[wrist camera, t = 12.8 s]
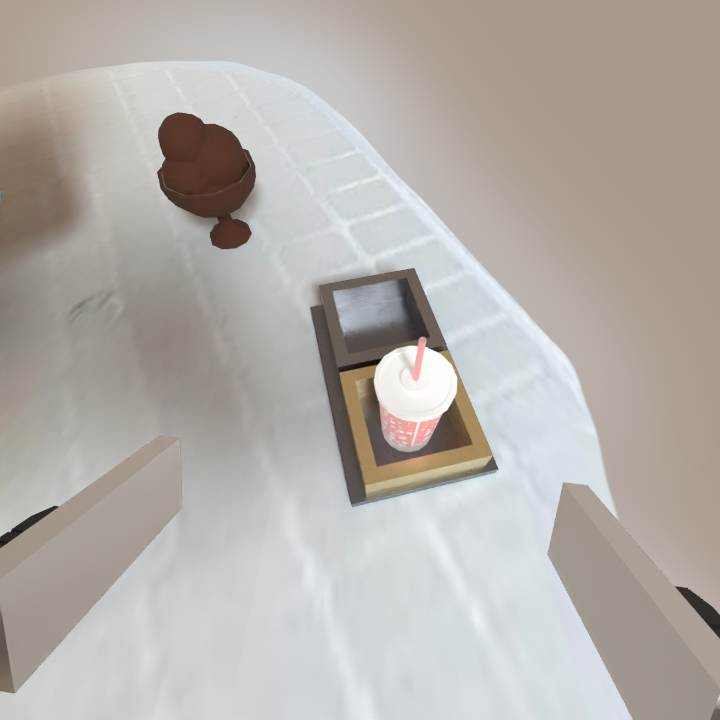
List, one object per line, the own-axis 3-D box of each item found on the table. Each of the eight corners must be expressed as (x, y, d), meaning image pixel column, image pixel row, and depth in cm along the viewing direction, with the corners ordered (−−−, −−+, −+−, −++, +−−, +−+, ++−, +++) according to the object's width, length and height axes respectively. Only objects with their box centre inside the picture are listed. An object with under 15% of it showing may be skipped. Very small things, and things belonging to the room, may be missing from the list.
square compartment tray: (312, 313, 46) (306, 285, 42) (420, 292, 47) (424, 264, 43) (352, 507, 34) (349, 493, 30) (495, 472, 35) (510, 455, 32)
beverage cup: (435, 397, 38) (463, 300, 27) (444, 459, 35) (480, 380, 23) (372, 399, 39) (371, 304, 27) (375, 461, 35) (376, 384, 23)
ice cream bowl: (198, 274, 50) (139, 158, 37) (184, 220, 55) (129, 104, 43) (280, 250, 52) (250, 132, 39) (259, 201, 57) (226, 84, 45)
